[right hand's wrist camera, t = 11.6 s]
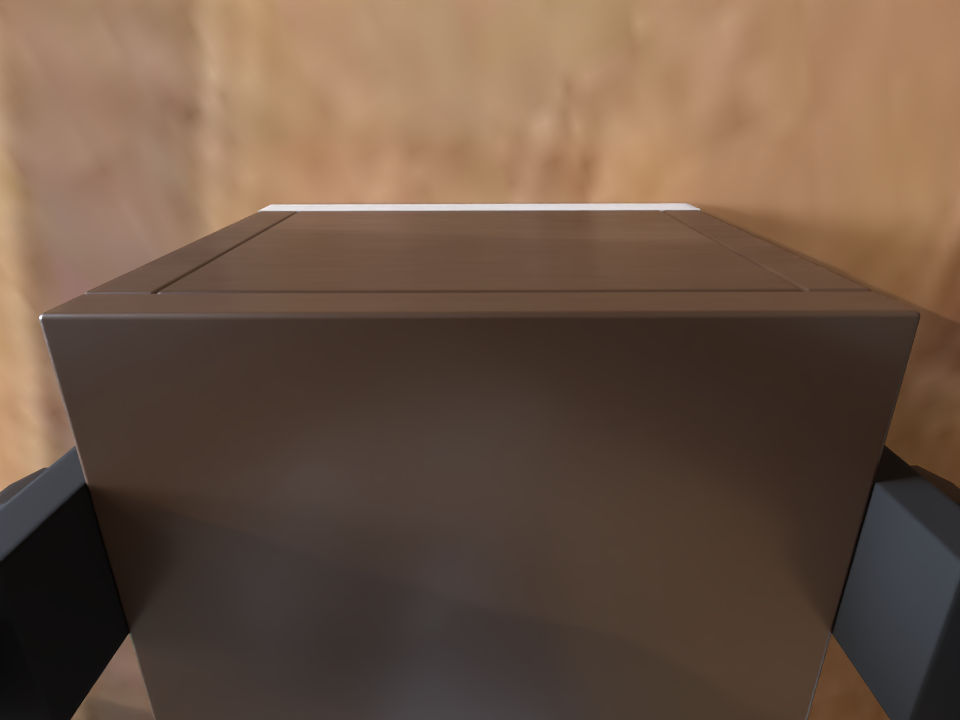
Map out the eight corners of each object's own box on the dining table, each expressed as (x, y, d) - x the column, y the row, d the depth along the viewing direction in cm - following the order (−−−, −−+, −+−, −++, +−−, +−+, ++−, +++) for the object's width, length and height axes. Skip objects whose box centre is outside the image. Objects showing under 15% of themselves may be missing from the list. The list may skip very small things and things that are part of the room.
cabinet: (635, 633, 21) (737, 976, 13) (326, 634, 21) (226, 978, 13) (687, 203, 16) (926, 310, 7) (271, 204, 16) (32, 313, 7)
